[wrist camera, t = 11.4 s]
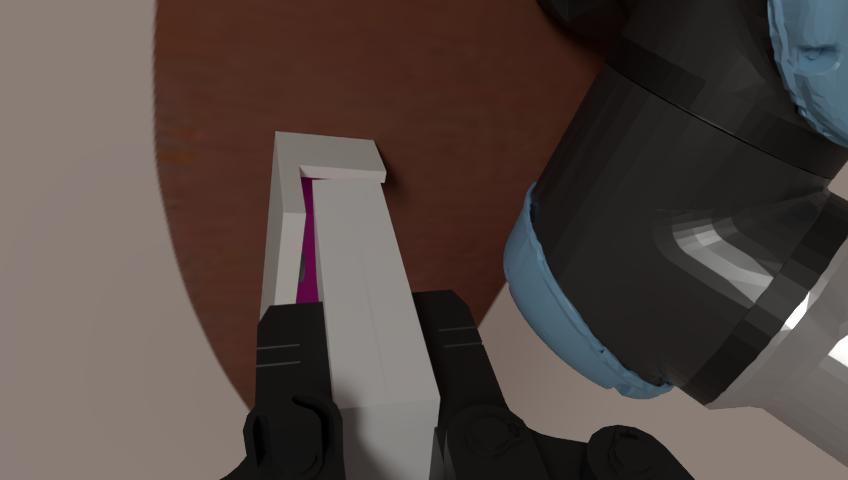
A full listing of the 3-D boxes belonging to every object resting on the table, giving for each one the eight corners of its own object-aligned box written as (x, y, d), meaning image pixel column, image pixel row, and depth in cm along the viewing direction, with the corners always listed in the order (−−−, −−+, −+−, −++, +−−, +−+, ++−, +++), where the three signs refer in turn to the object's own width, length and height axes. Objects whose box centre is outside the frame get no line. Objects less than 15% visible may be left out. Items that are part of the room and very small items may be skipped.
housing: (373, 140, 45) (405, 219, 36) (340, 335, 54) (359, 437, 45) (275, 131, 43) (283, 212, 34) (258, 335, 52) (261, 442, 43)
